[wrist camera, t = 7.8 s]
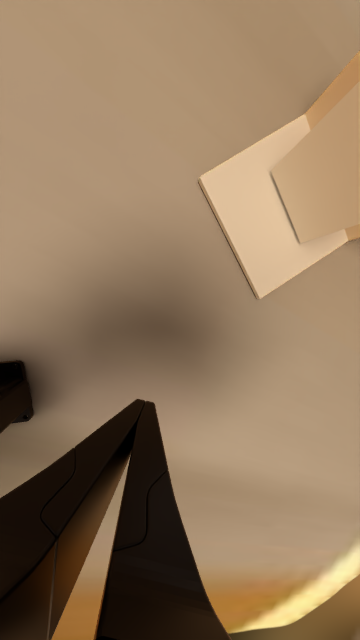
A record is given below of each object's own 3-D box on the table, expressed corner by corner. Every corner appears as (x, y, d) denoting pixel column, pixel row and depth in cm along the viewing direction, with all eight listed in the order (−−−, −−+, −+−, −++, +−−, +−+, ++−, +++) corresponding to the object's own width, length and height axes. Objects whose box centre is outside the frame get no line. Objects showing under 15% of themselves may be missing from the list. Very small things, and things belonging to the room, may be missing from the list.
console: (257, 298, 21) (382, 306, 10) (197, 180, 18) (278, -11, 7) (363, 228, 22) (591, 160, 10) (323, 105, 19) (584, -178, 7)
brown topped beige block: (300, 243, 20) (446, 196, 10) (270, 170, 18) (412, 25, 8) (329, 225, 20) (501, 160, 10) (302, 150, 18) (478, -14, 8)
